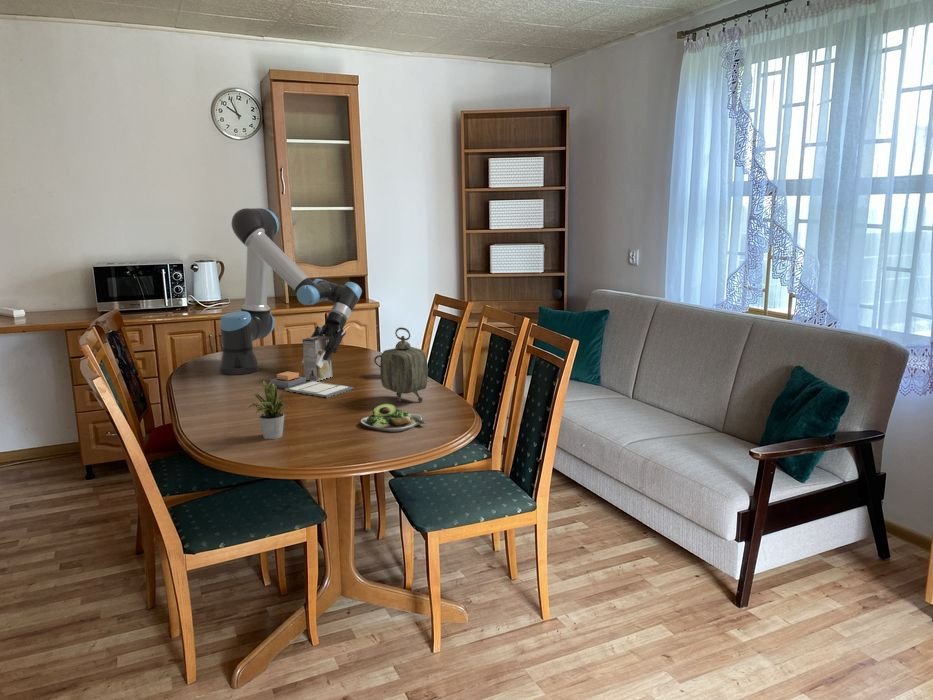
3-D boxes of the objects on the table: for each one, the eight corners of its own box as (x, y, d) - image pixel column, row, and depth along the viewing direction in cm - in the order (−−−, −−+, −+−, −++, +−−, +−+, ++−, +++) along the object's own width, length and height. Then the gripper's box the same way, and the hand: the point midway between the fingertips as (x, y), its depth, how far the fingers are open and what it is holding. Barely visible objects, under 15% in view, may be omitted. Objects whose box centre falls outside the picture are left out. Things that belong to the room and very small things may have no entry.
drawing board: (284, 391, 245) (284, 388, 245) (311, 382, 257) (311, 380, 257) (327, 398, 235) (327, 395, 235) (353, 389, 247) (353, 386, 247)
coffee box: (320, 375, 269) (318, 335, 265) (332, 377, 266) (331, 336, 262) (304, 380, 261) (301, 339, 258) (317, 382, 258) (315, 340, 255)
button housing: (270, 386, 252) (269, 379, 252) (288, 381, 260) (287, 374, 259) (288, 389, 247) (288, 382, 247) (306, 384, 255) (306, 377, 255)
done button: (276, 378, 252) (276, 374, 252) (287, 375, 257) (287, 371, 257) (288, 380, 249) (287, 376, 249) (299, 377, 254) (298, 373, 254)
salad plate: (439, 421, 210) (439, 406, 209) (407, 437, 194) (406, 422, 194) (387, 412, 219) (387, 398, 218) (352, 428, 204) (352, 413, 203)
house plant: (237, 433, 198) (233, 378, 195) (283, 425, 205) (280, 372, 202) (253, 447, 186) (249, 388, 183) (302, 437, 194) (298, 381, 191)
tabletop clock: (428, 401, 230) (427, 328, 225) (408, 407, 223) (407, 331, 218) (398, 394, 239) (396, 323, 235) (379, 399, 233) (376, 327, 228)
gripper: (362, 324, 267) (336, 373, 257) (324, 320, 277) (297, 368, 266) (352, 312, 262) (325, 362, 251) (314, 309, 272) (287, 357, 261)
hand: (311, 365), depth 259 cm, fingers closed on coffee box, 6 cm apart
